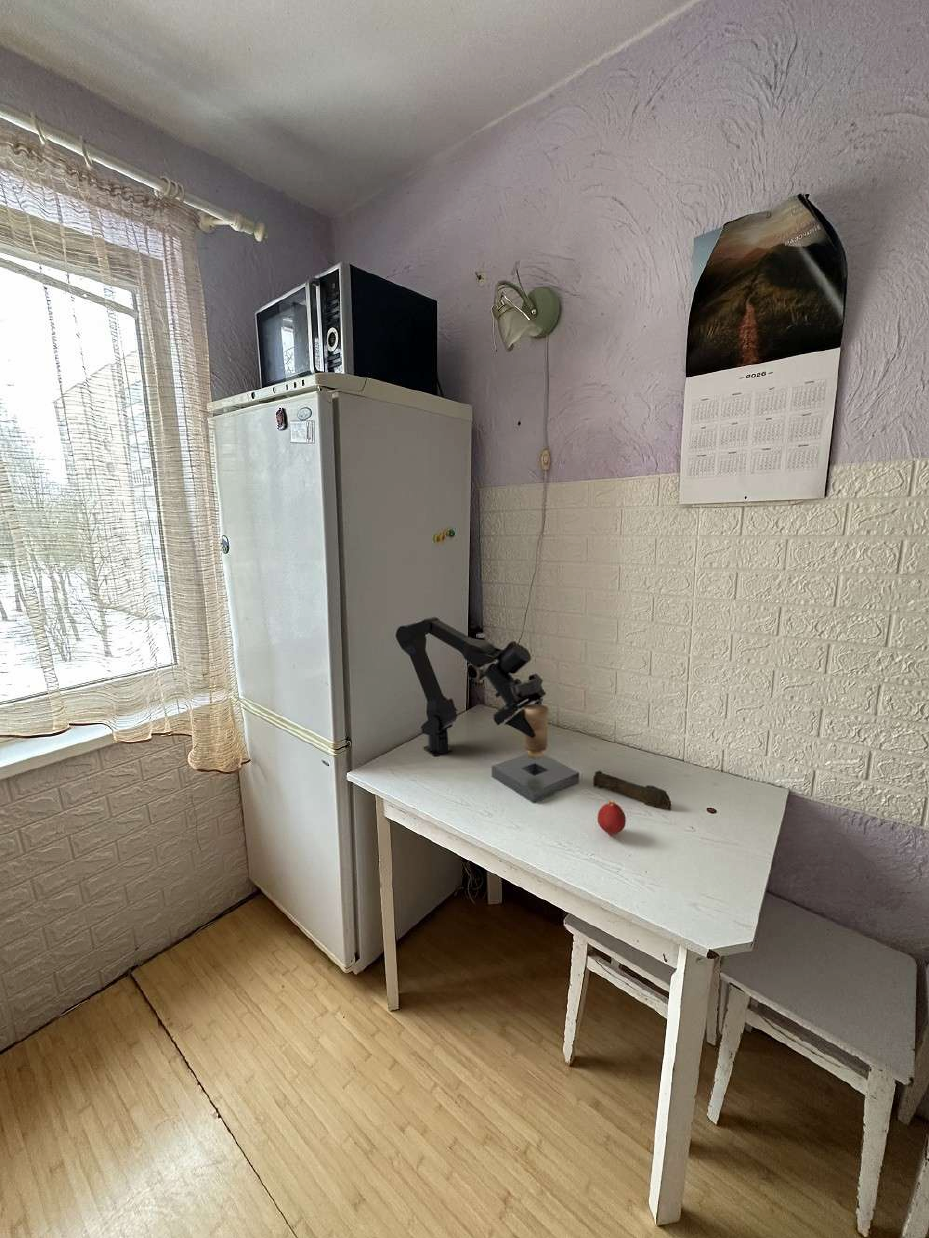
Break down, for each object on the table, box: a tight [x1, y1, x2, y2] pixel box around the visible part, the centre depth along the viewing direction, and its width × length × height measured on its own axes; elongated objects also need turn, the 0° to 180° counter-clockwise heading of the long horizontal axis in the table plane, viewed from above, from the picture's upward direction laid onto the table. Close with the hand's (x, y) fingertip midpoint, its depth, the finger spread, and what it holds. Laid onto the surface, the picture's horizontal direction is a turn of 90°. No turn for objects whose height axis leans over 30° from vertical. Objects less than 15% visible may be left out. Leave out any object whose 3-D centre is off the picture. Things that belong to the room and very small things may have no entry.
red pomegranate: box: [597, 800, 627, 836], centre depth 108 cm, size 6×6×8 cm
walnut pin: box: [523, 704, 549, 759], centre depth 129 cm, size 6×6×13 cm
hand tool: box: [592, 770, 672, 811], centre depth 123 cm, size 19×4×5 cm, turn 47°
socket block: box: [491, 753, 580, 804], centre depth 131 cm, size 16×16×3 cm
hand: (540, 732), depth 129 cm, fingers closed on walnut pin, 6 cm apart
